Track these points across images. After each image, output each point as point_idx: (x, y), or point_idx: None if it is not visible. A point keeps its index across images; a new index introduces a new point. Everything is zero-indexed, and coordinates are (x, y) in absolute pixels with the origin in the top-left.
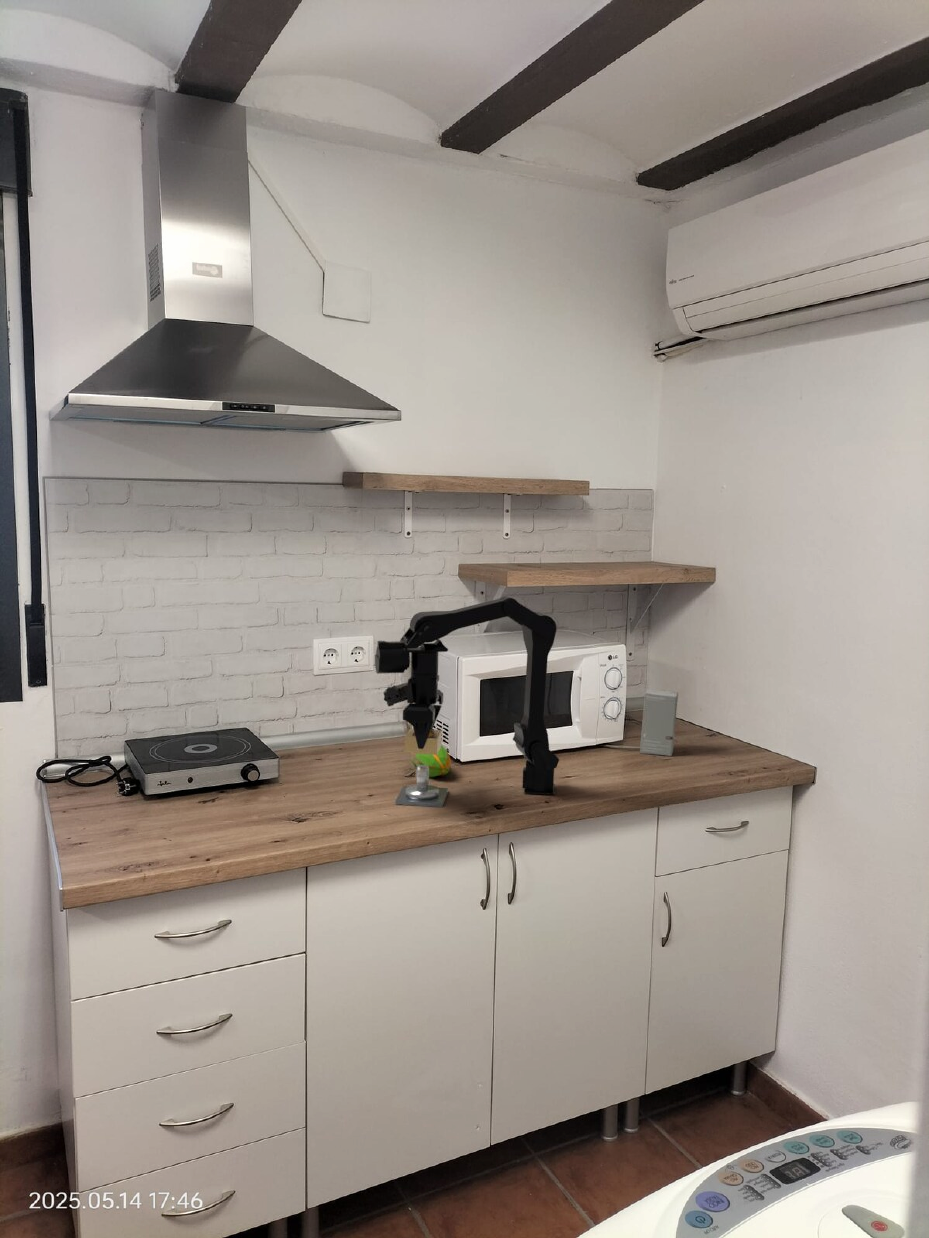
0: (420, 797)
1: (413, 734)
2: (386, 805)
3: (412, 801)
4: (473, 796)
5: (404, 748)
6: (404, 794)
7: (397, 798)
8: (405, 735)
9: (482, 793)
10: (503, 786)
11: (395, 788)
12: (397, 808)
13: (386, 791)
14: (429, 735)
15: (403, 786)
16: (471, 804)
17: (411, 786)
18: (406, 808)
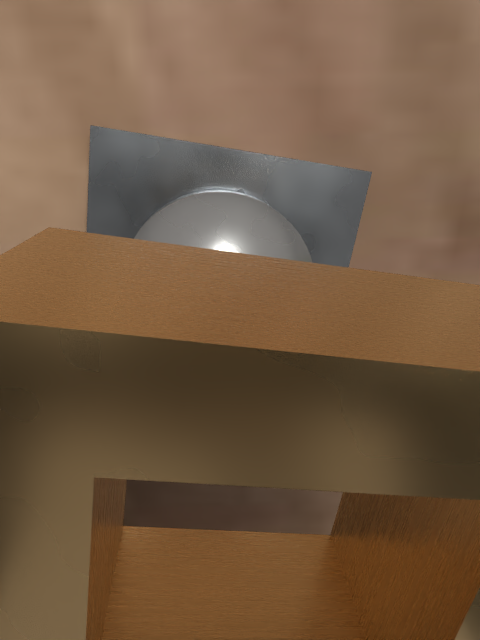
0: None
1: (304, 469)
2: (72, 65)
3: (91, 232)
4: (240, 493)
5: (26, 245)
6: (212, 182)
7: (134, 138)
8: (85, 331)
9: (278, 522)
10: None
11: (386, 121)
12: (27, 140)
13: (336, 61)
14: (397, 622)
15: (359, 173)
16: (135, 488)
17: (281, 227)
18: (36, 195)
